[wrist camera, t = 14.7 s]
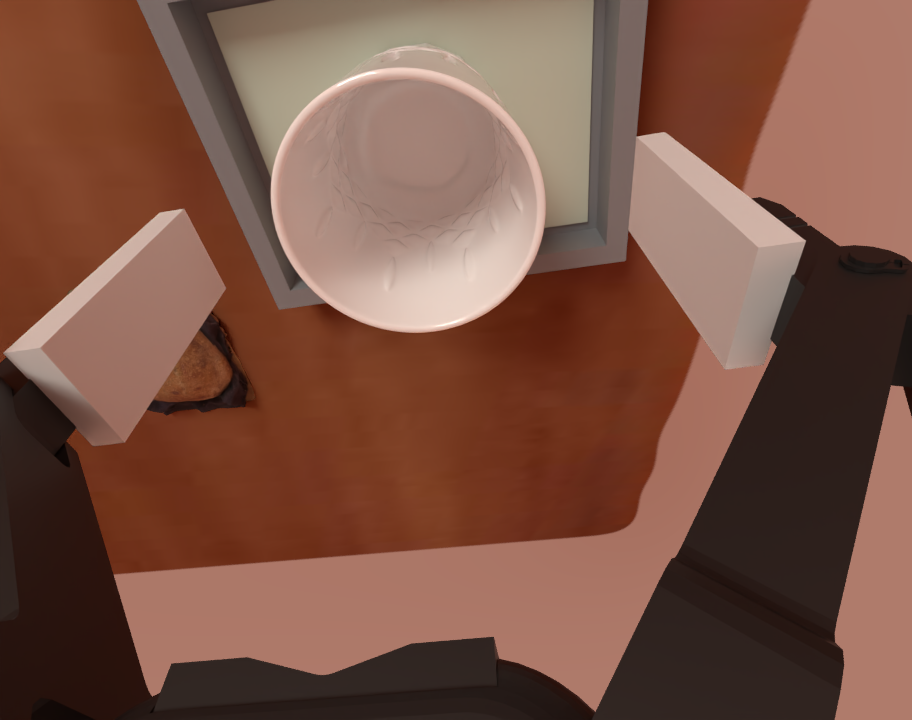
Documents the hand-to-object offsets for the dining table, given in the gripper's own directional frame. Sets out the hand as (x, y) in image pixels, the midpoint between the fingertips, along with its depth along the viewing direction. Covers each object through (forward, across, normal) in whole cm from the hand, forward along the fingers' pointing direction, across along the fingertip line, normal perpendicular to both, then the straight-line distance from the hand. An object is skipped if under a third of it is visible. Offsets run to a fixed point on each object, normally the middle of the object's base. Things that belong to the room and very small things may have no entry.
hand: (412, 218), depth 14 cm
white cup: (+10, 0, 0) cm, 10 cm away
